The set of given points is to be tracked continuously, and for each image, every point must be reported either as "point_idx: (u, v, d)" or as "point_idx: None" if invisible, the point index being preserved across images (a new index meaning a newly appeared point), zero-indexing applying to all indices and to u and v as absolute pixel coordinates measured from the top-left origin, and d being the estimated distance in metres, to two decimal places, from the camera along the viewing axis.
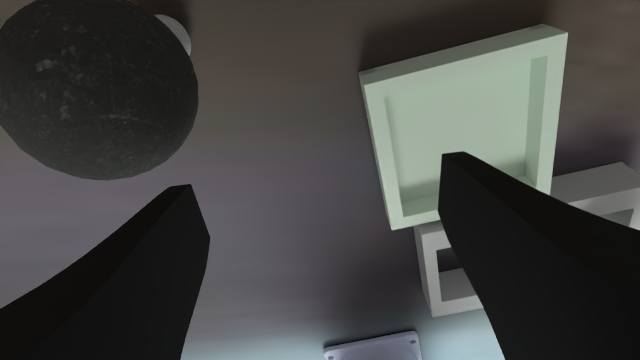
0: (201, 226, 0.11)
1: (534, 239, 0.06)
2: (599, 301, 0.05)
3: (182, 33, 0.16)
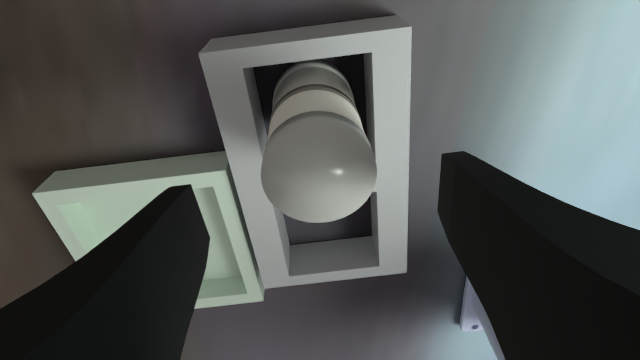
0: (201, 226, 0.11)
1: (534, 238, 0.06)
2: (599, 301, 0.05)
3: None
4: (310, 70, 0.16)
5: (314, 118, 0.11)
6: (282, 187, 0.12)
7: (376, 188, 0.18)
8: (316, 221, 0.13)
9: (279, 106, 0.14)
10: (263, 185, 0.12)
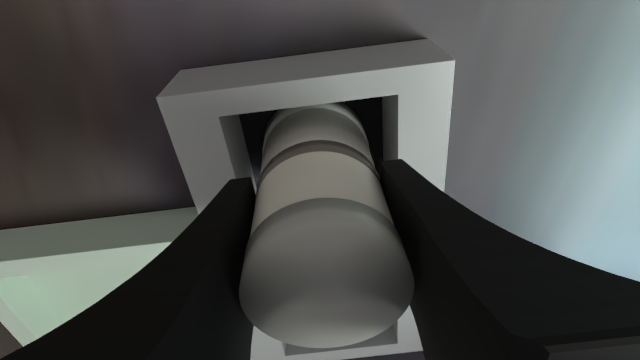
0: None
1: (434, 250, 0.06)
2: (471, 315, 0.05)
3: None
4: (312, 114, 0.12)
5: (320, 217, 0.07)
6: (272, 309, 0.08)
7: None
8: (322, 345, 0.09)
9: (269, 173, 0.10)
10: (243, 307, 0.08)
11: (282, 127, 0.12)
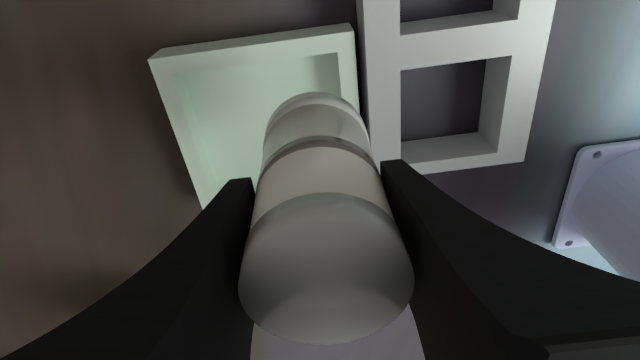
0: None
1: (434, 250, 0.06)
2: (471, 315, 0.05)
3: None
4: (314, 110, 0.12)
5: (323, 211, 0.07)
6: (271, 303, 0.08)
7: (512, 51, 0.17)
8: (320, 341, 0.09)
9: (270, 167, 0.10)
10: (242, 301, 0.08)
11: (284, 122, 0.12)
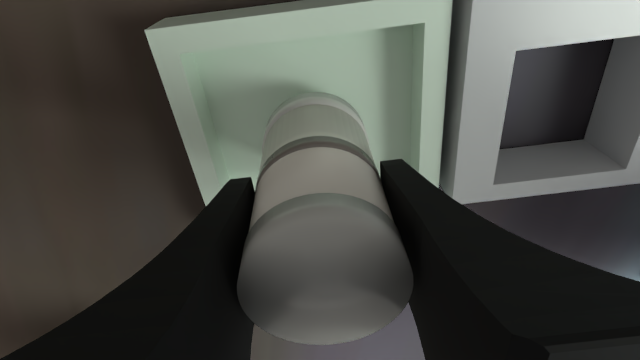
0: None
1: (435, 250, 0.06)
2: (471, 315, 0.05)
3: None
4: (314, 110, 0.12)
5: (321, 211, 0.07)
6: (270, 303, 0.08)
7: None
8: (319, 341, 0.09)
9: (270, 168, 0.10)
10: (241, 301, 0.08)
11: (283, 122, 0.12)
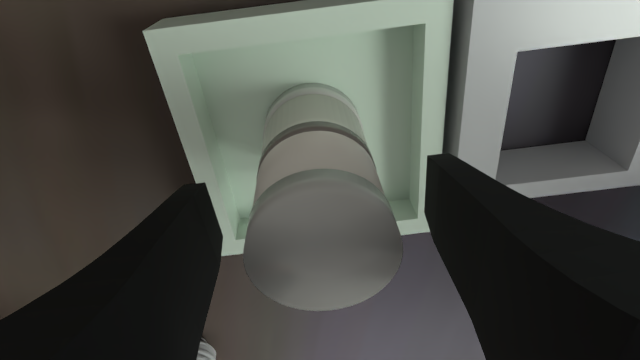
0: (215, 224, 0.11)
1: (510, 241, 0.06)
2: (569, 304, 0.05)
3: None
4: (311, 99, 0.12)
5: (319, 183, 0.08)
6: (273, 270, 0.09)
7: None
8: (317, 308, 0.10)
9: (271, 150, 0.11)
10: (246, 268, 0.09)
11: (283, 110, 0.12)
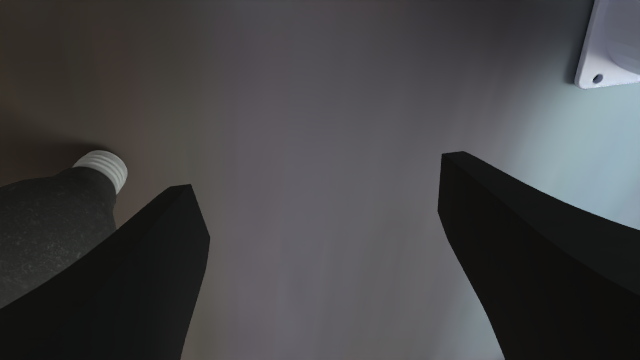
0: (201, 226, 0.11)
1: (535, 238, 0.06)
2: (599, 301, 0.05)
3: (84, 157, 0.20)
4: None
5: None
6: None
7: None
8: None
9: None
10: None
11: None
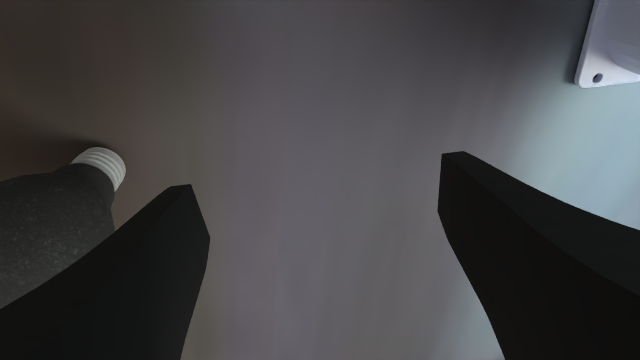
0: (201, 226, 0.11)
1: (534, 238, 0.06)
2: (599, 301, 0.05)
3: (83, 154, 0.20)
4: None
5: None
6: None
7: None
8: None
9: None
10: None
11: None
